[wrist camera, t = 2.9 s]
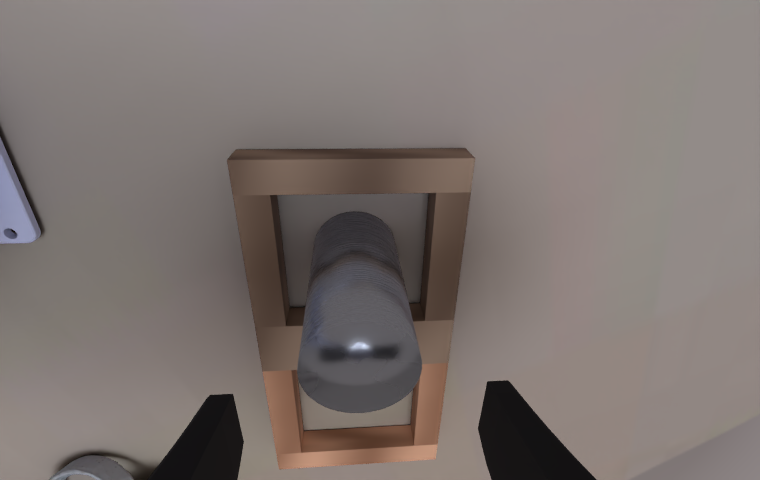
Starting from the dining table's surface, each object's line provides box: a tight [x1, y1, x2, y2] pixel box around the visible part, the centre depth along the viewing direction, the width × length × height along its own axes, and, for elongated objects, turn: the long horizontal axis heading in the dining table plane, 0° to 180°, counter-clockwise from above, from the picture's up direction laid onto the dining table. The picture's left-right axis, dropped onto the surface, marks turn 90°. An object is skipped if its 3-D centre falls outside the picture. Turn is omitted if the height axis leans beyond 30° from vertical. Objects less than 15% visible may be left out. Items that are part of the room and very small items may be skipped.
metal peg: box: [297, 212, 422, 413], centre depth 16 cm, size 4×4×8 cm
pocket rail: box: [227, 148, 475, 469], centre depth 22 cm, size 10×20×2 cm, turn 179°
